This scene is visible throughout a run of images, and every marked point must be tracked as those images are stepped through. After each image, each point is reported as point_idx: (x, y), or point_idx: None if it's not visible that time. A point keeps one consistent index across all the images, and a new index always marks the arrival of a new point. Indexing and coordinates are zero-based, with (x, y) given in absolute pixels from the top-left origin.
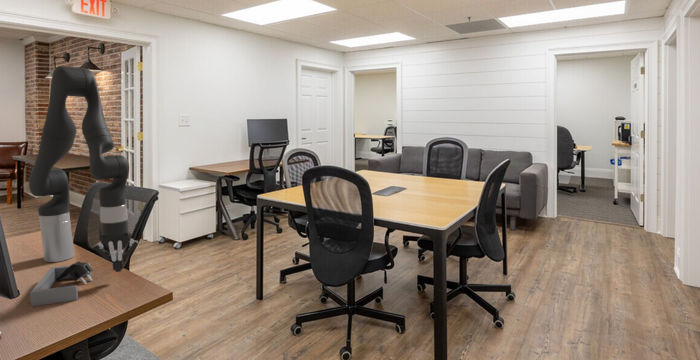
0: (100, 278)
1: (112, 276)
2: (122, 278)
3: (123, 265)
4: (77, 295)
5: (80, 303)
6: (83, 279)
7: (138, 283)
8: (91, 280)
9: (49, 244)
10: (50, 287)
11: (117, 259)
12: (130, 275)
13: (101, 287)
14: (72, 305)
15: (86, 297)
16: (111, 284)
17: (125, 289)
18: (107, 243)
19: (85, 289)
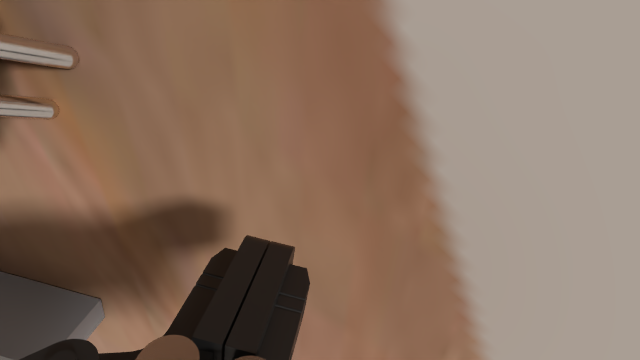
0: (133, 36)
1: (233, 42)
2: (320, 152)
3: (305, 299)
4: (89, 319)
5: None
6: (7, 113)
7: (415, 310)
8: (73, 67)
9: None
10: None
11: (215, 354)
12: (394, 116)
13: (186, 237)
14: (107, 351)
15: (140, 314)
16: (243, 225)
17: (327, 340)
18: None
19: (95, 211)
